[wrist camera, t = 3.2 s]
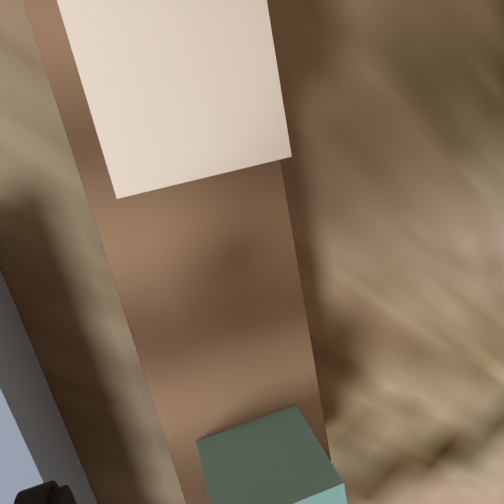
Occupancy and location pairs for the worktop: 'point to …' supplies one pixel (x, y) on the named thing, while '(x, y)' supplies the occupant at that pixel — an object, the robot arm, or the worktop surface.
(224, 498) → the teal cube
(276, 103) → the cream cube
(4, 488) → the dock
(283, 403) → the brown long wavy block
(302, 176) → the worktop surface
